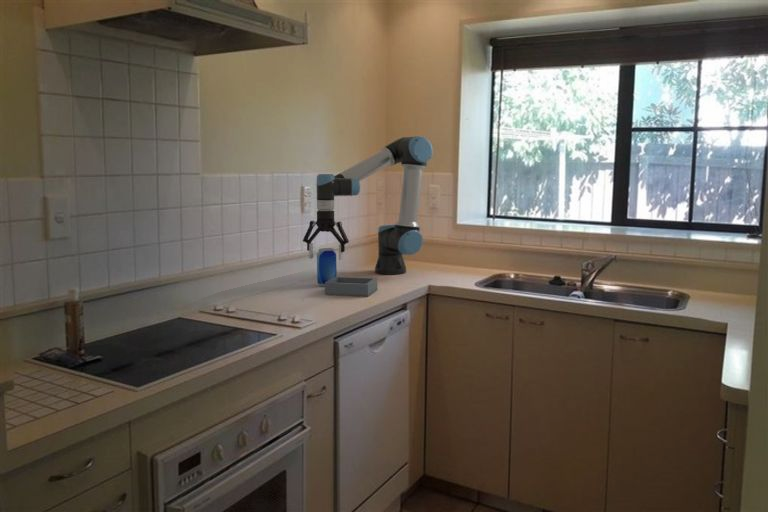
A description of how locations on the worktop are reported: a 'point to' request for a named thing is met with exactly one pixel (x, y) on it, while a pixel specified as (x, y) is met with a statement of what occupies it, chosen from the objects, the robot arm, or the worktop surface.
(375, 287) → the caddy
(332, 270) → the beer can
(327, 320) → the worktop surface
